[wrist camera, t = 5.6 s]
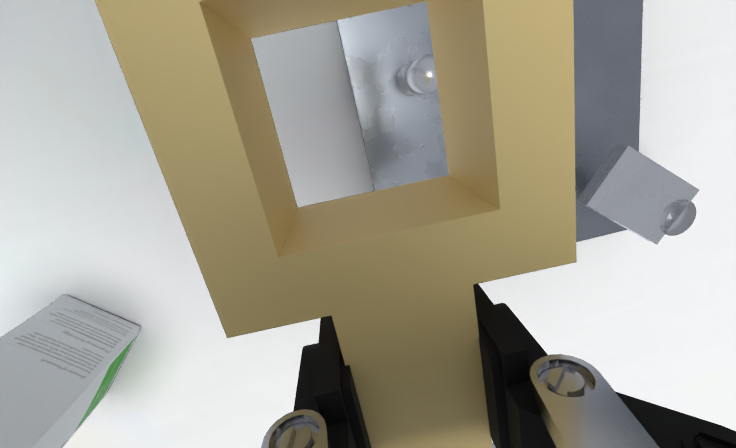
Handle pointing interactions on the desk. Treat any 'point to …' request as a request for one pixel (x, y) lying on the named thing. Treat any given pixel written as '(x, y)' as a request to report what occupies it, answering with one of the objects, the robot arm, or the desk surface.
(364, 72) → the pintle plate
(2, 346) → the skincare box
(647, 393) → the desk surface
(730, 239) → the desk surface
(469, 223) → the link
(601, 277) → the desk surface
